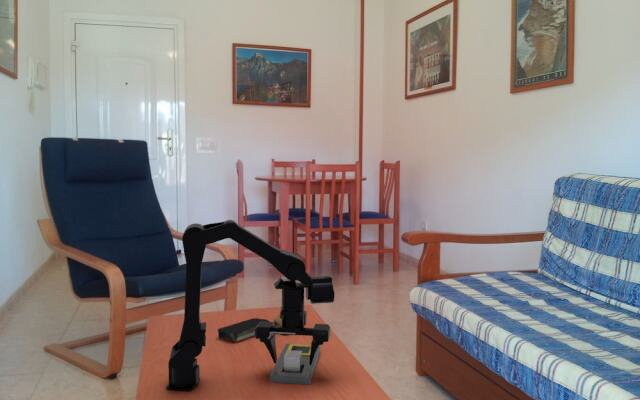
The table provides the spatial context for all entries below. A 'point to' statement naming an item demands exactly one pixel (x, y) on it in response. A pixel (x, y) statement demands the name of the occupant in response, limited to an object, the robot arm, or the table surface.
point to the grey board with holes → (307, 369)
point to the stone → (278, 321)
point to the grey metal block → (293, 361)
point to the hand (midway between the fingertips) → (293, 363)
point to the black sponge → (240, 330)
